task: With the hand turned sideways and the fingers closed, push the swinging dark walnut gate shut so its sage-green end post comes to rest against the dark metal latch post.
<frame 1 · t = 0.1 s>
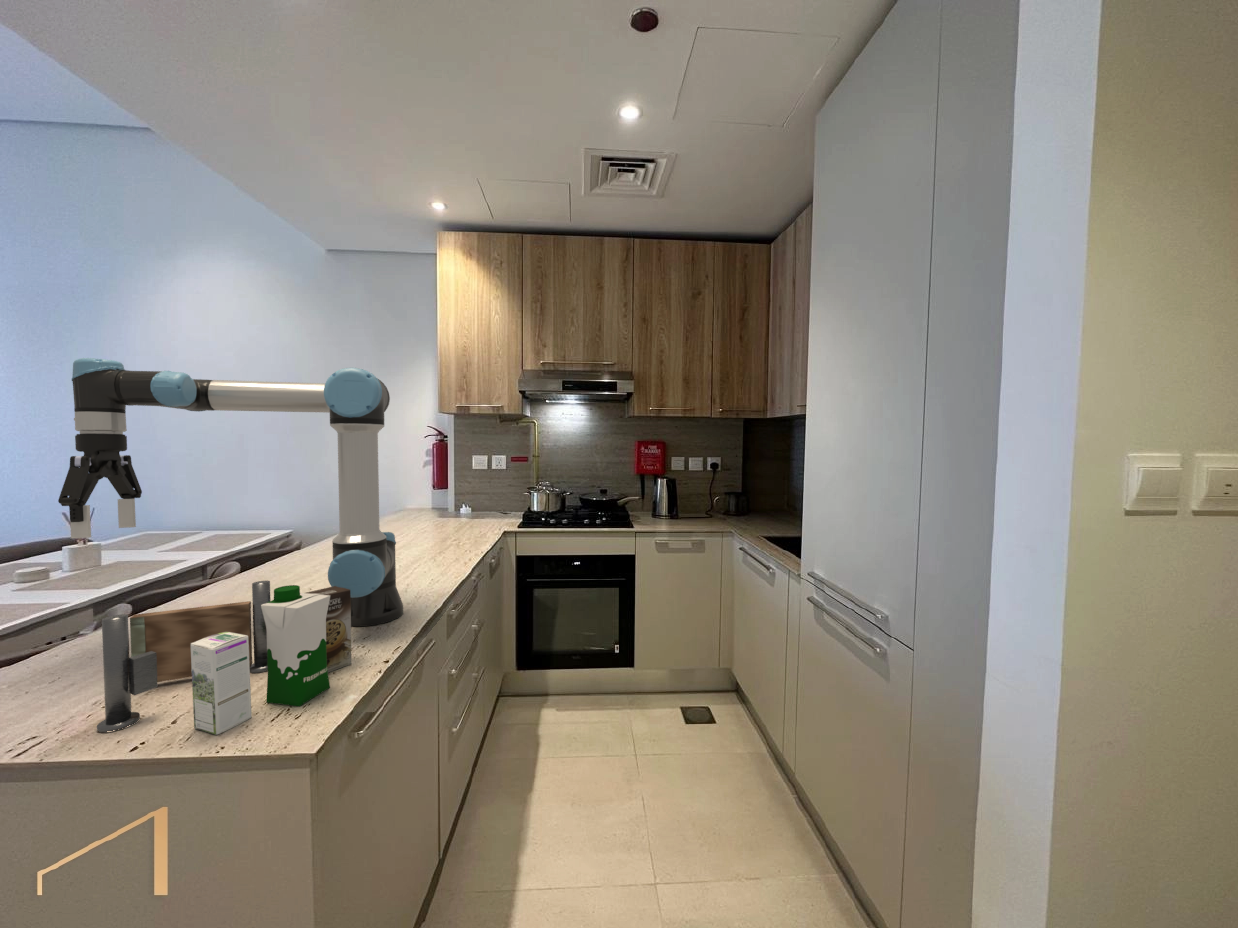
hand: (105, 532, 104), 28 cm above the countertop, tool pointing down, fingers open, 13 cm apart
gate: (194, 641, 96), point 8 cm above the countertop, hinge at 40.0°
latch post: (118, 724, 81), on the countertop
brown cookie box: (322, 669, 101), on the countertop
syrup box: (223, 724, 81), on the countertop
hinge post: (263, 667, 101), on the countertop
milk carton: (299, 696, 90), on the countertop
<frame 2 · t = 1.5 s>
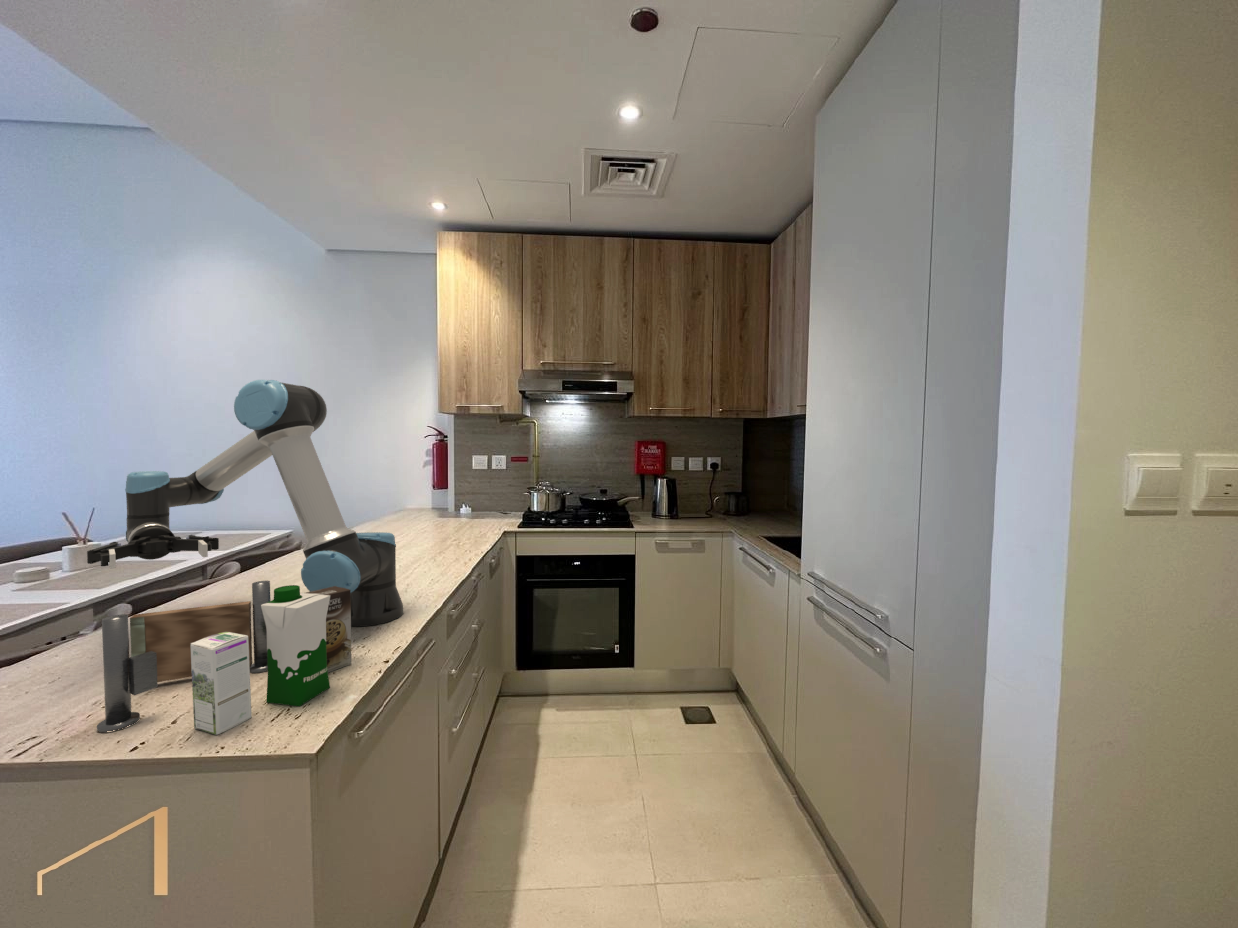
hand: (161, 555, 98), 24 cm above the countertop, tool horizontal, fingers open, 13 cm apart
nothing on the countertop moved.
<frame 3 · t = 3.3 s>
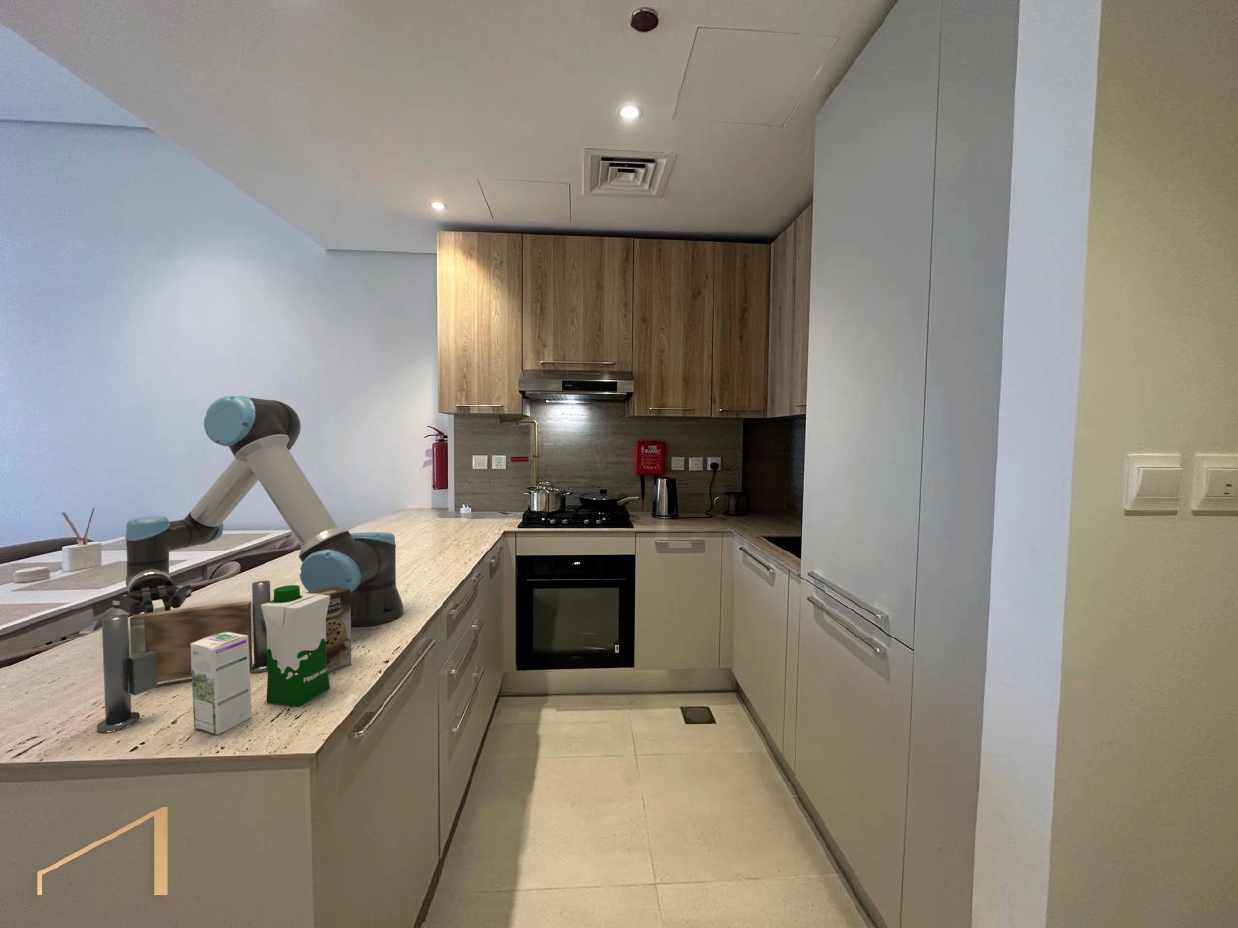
hand: (159, 614, 97), 13 cm above the countertop, tool horizontal, fingers closed
nothing on the countertop moved.
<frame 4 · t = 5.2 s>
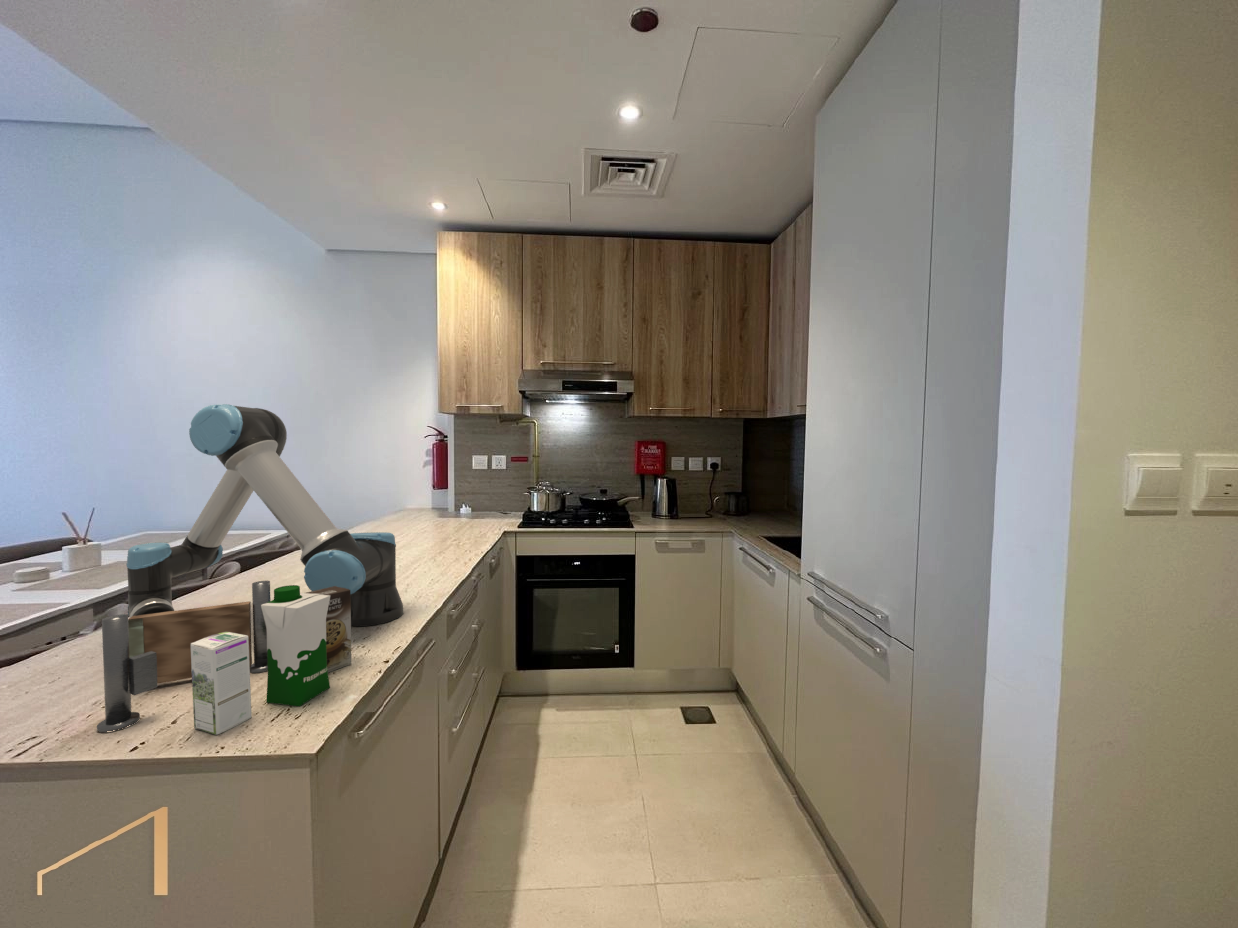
hand: (160, 648, 94), 7 cm above the countertop, tool horizontal, fingers closed
gate: (193, 642, 96), point 8 cm above the countertop, hinge at 37.3°, touching gripper
everything else where it was.
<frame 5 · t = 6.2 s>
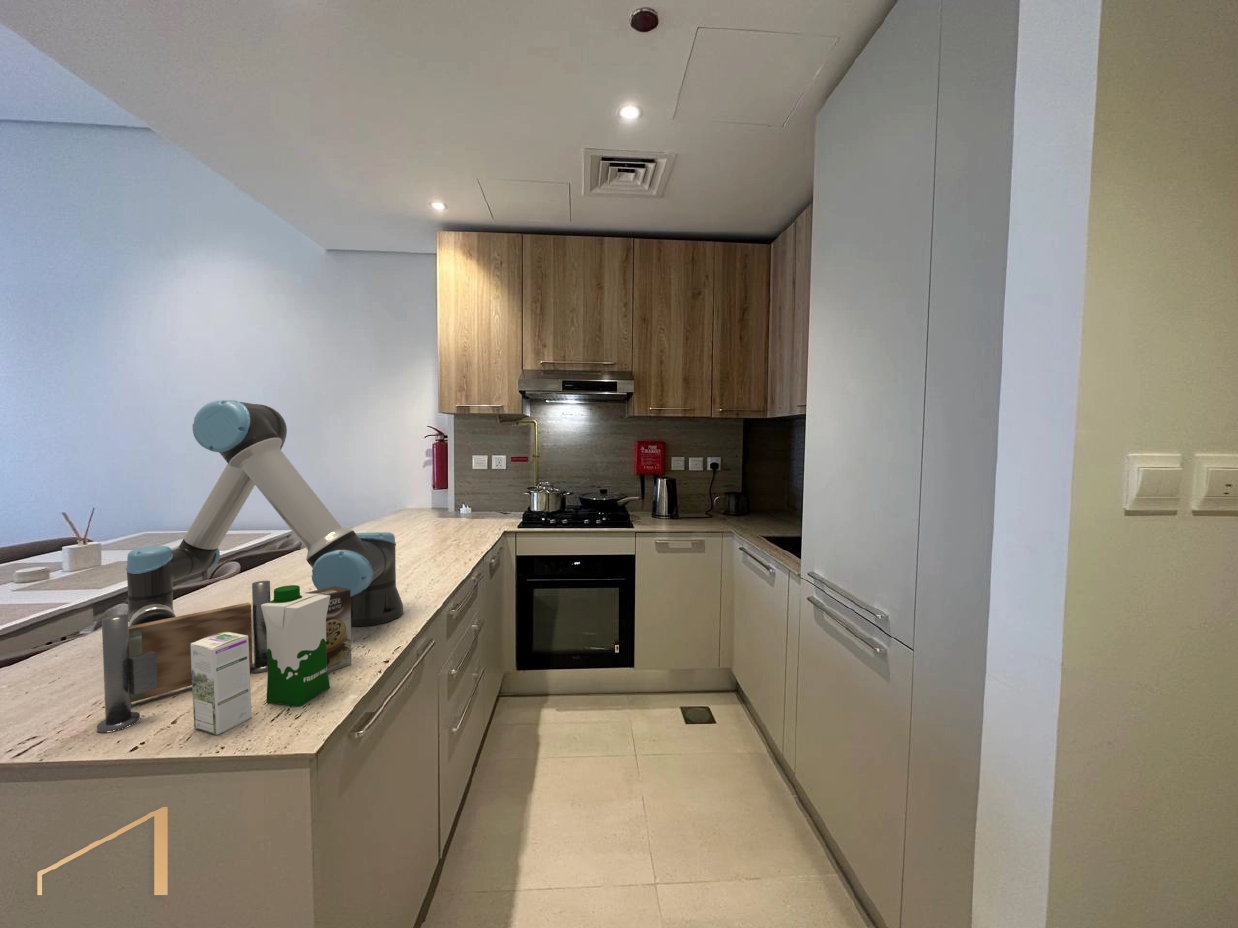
hand: (161, 658, 90), 7 cm above the countertop, tool horizontal, fingers closed
gate: (193, 648, 93), point 8 cm above the countertop, hinge at 16.9°, touching gripper
everything else where it was.
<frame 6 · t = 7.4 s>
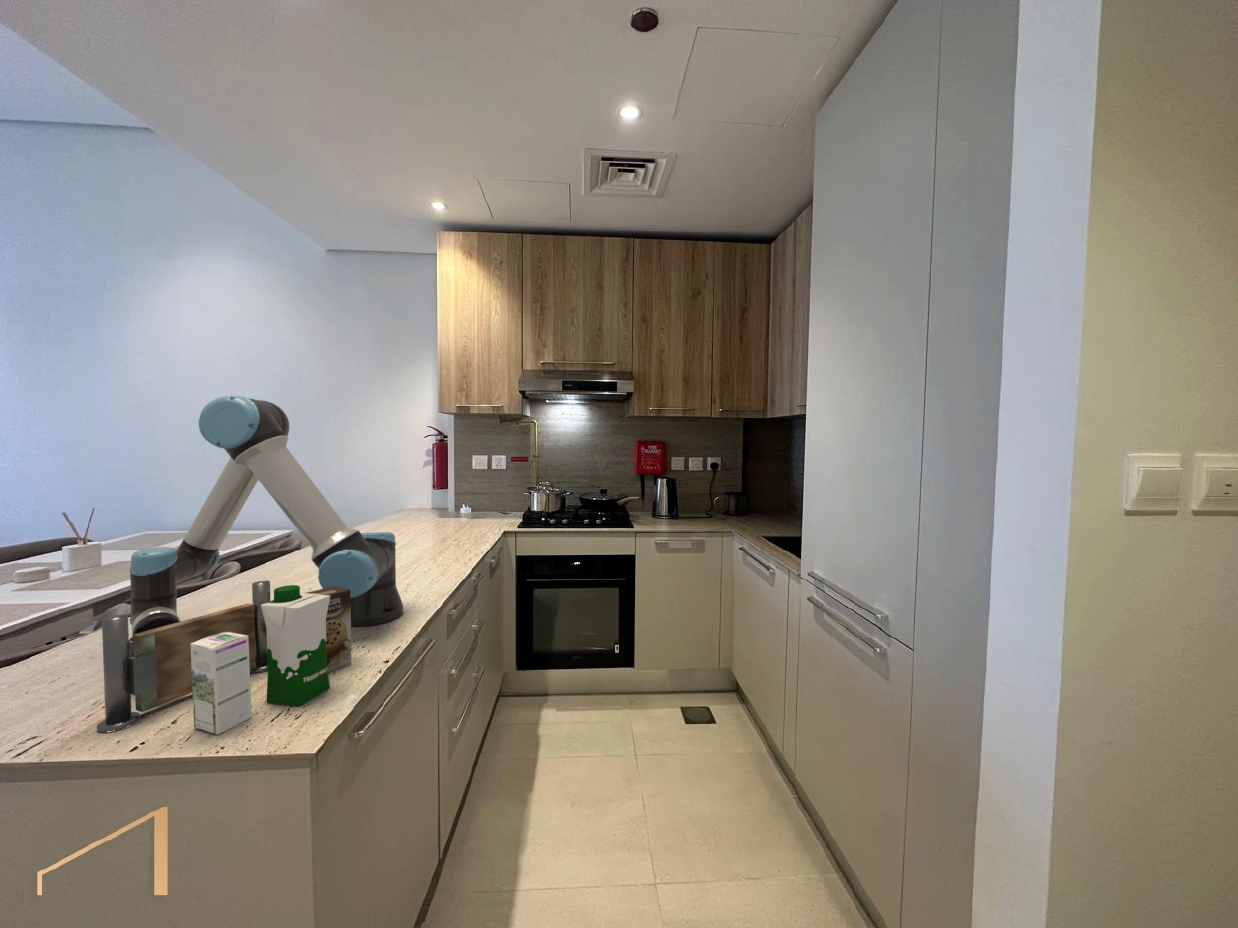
hand: (165, 664, 87), 7 cm above the countertop, tool horizontal, fingers closed
gate: (200, 652, 91), point 8 cm above the countertop, hinge at -0.4°, touching gripper, latch post
everything else where it was.
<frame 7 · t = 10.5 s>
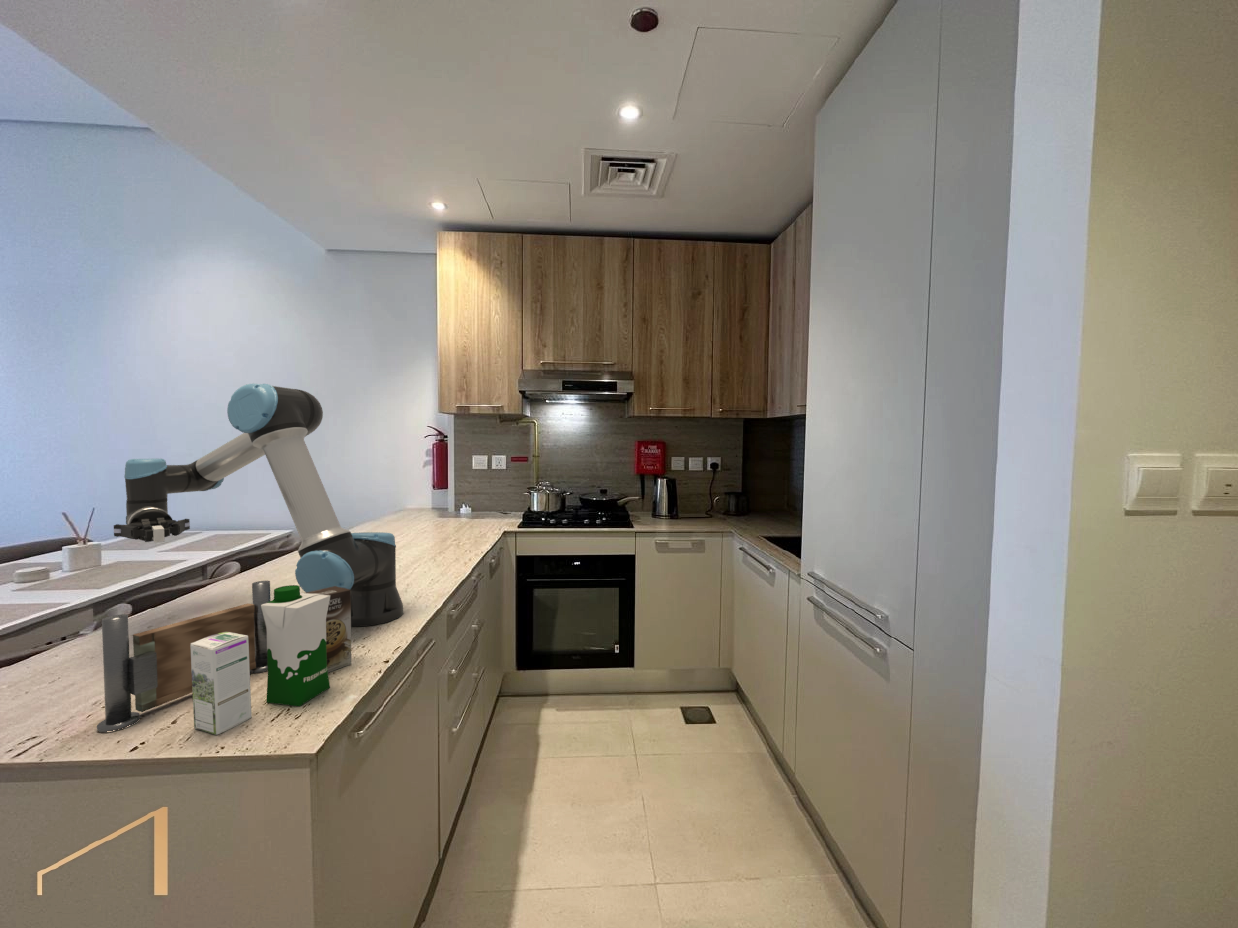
hand: (159, 535, 101), 28 cm above the countertop, tool horizontal, fingers closed
gate: (199, 652, 91), point 8 cm above the countertop, hinge at -0.2°
everything else where it was.
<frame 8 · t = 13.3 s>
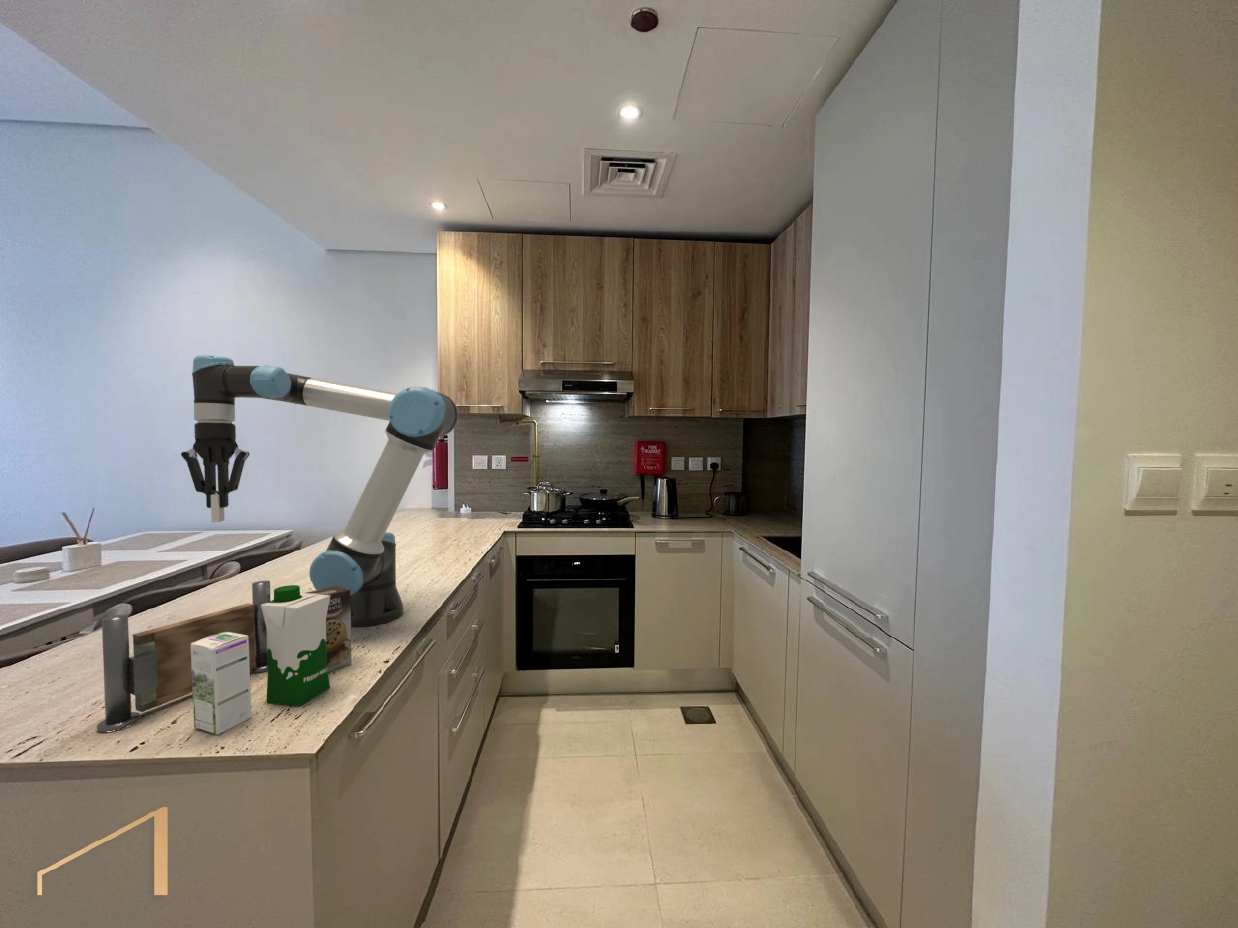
hand: (218, 521, 116), 28 cm above the countertop, tool pointing down, fingers closed
nothing on the countertop moved.
at the end: gate at +0° (first picture: +40°) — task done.
